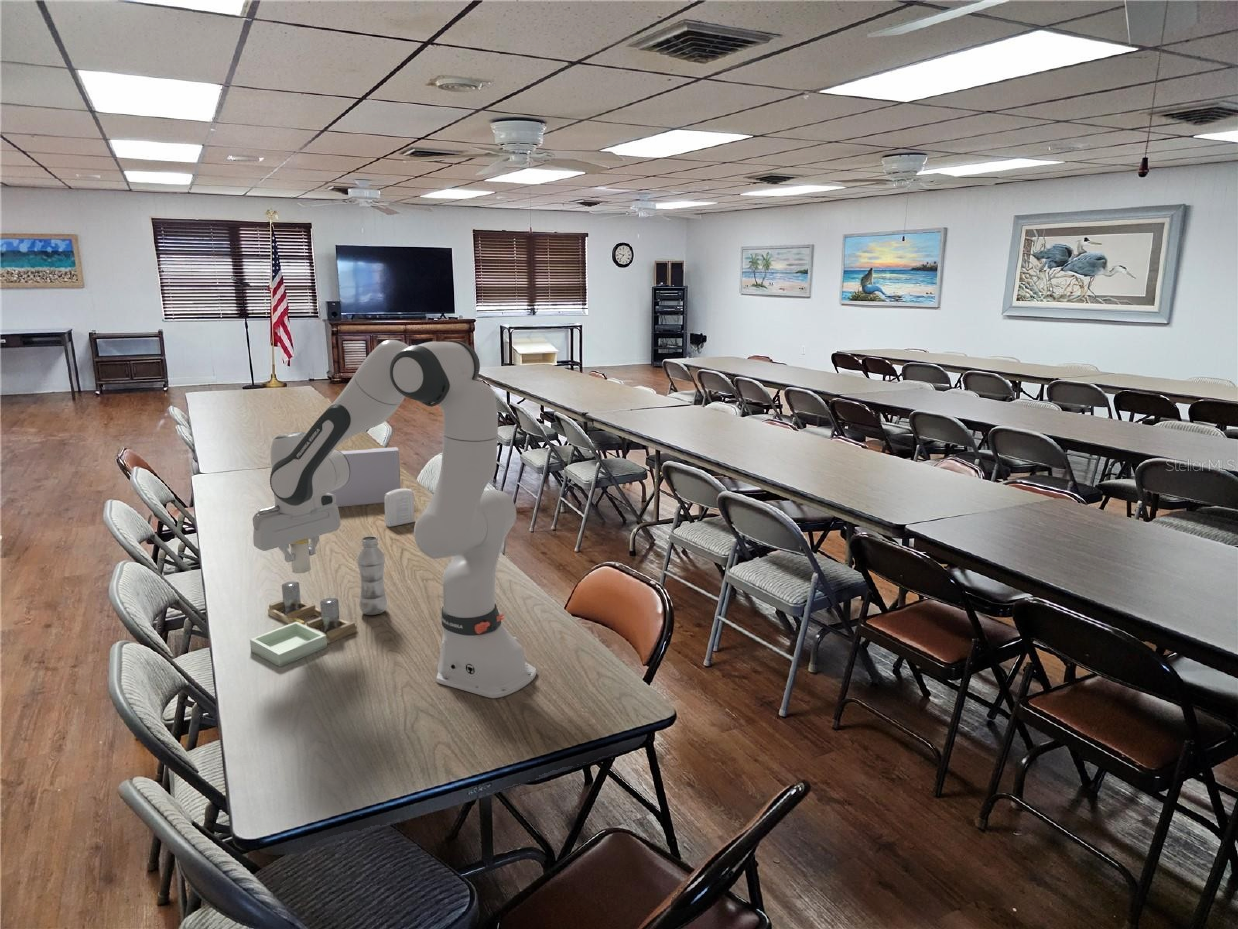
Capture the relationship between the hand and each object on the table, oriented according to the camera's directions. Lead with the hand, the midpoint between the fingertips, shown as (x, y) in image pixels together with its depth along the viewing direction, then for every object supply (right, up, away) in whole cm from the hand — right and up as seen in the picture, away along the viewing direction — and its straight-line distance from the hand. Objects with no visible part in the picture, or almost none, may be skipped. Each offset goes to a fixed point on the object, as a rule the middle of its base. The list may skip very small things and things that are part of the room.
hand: (300, 557), depth 178 cm
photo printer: (-1, +1, +83) cm, 83 cm away
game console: (-21, +7, +105) cm, 108 cm away
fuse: (0, -3, +1) cm, 3 cm away
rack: (-1, -17, +9) cm, 19 cm away
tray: (-1, -20, -5) cm, 21 cm away
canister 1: (-7, -16, +13) cm, 22 cm away
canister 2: (+6, -18, +4) cm, 20 cm away
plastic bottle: (+12, -16, +15) cm, 25 cm away
